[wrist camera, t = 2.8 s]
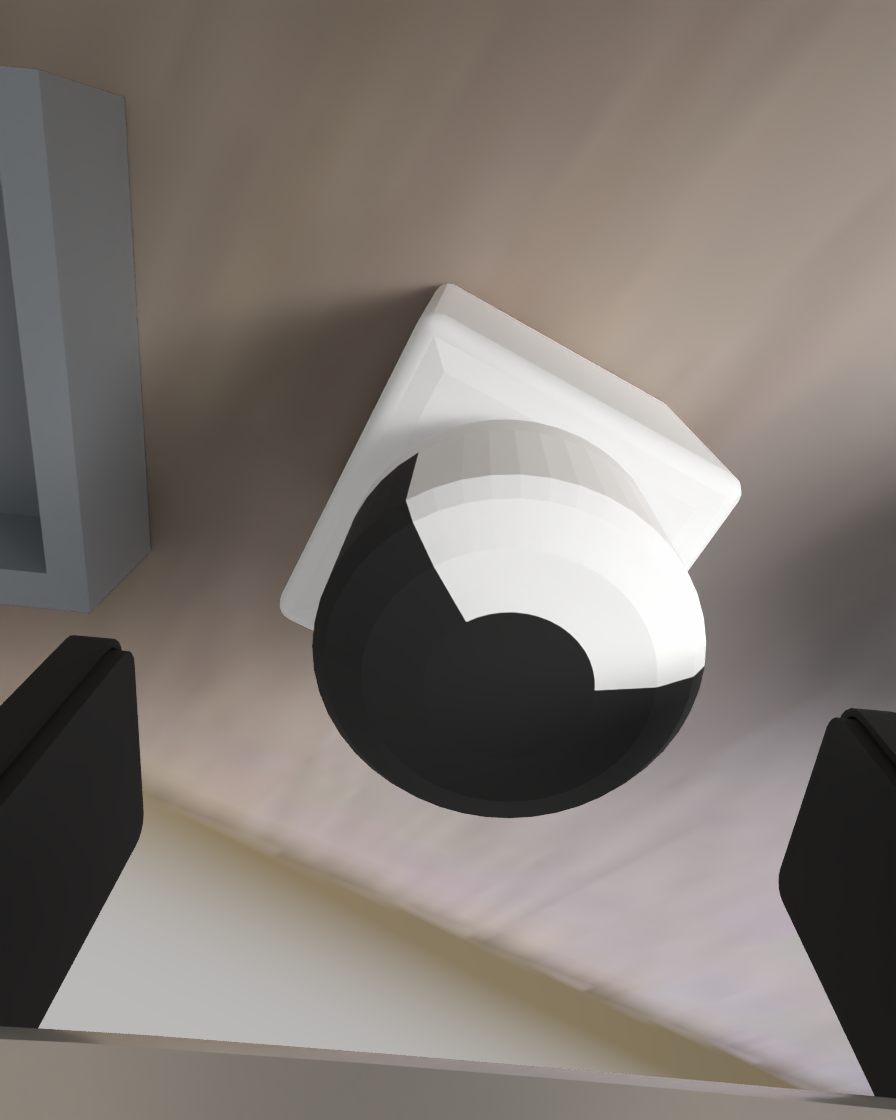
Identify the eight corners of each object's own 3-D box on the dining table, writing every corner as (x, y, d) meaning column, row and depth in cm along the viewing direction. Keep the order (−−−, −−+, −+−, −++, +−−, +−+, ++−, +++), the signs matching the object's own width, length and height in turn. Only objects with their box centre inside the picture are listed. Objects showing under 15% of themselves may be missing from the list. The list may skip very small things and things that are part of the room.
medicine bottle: (540, 610, 24) (587, 934, 14) (329, 504, 23) (193, 763, 12) (673, 406, 22) (867, 604, 11) (443, 276, 21) (398, 348, 10)
